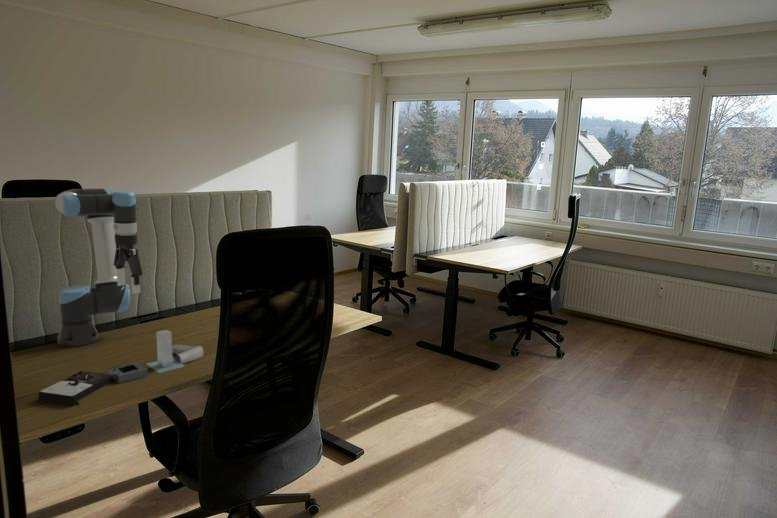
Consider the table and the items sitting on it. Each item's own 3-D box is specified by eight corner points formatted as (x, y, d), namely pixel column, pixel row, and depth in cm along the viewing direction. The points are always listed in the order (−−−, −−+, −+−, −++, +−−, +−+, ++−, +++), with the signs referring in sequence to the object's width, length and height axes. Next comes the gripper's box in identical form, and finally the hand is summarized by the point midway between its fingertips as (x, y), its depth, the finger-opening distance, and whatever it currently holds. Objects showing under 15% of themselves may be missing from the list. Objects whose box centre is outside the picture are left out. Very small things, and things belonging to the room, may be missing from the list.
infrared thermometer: (178, 352, 232) (205, 356, 225) (154, 361, 222) (182, 366, 215) (177, 341, 231) (204, 345, 225) (153, 350, 221) (181, 355, 214)
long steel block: (157, 364, 213) (156, 331, 210) (168, 362, 215) (166, 329, 213) (162, 367, 210) (160, 334, 207) (172, 365, 213) (171, 332, 210)
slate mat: (145, 366, 213) (145, 363, 213) (171, 359, 220) (171, 357, 220) (159, 375, 205) (159, 373, 205) (185, 368, 212) (185, 366, 212)
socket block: (109, 377, 202) (108, 368, 202) (137, 370, 209) (136, 361, 209) (119, 385, 195) (118, 376, 195) (148, 378, 202) (147, 369, 202)
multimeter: (114, 384, 198) (113, 370, 197) (73, 407, 179) (72, 393, 178) (82, 380, 201) (80, 366, 200) (38, 402, 182) (36, 388, 181)
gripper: (102, 229, 213) (105, 283, 217) (129, 240, 196) (132, 298, 200) (122, 227, 218) (125, 280, 222) (150, 238, 201) (153, 294, 206)
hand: (128, 289), depth 211 cm, fingers open, 13 cm apart
